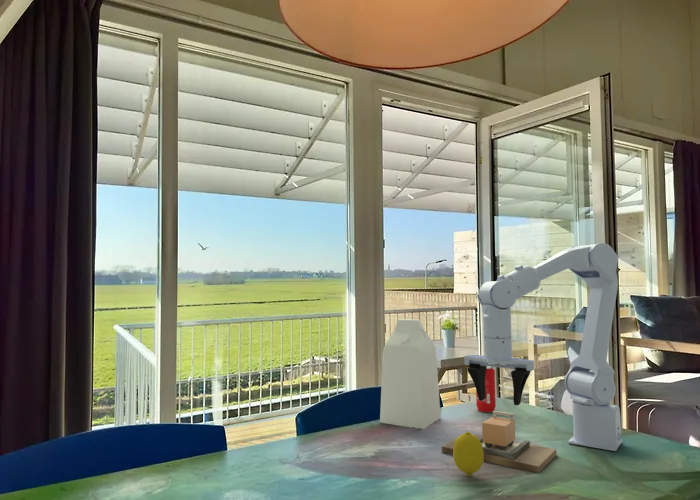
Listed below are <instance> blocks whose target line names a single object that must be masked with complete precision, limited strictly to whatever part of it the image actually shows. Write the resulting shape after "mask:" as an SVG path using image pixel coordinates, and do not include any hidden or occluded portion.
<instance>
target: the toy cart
mask: <svg viewBox="0 0 700 500" xmlns="http://www.w3.org/2000/svg"><path fill="white" fill-rule="evenodd" d="M514 415H515V414H514V413H511V412H507V411H506V412H505V411H500V410H494V411H493V412H492V416H491V417H489V418H488V419H486V420H485V421H483V422H482V423H481V424H482V427H481V429H482V433H481V434H482V435H483V442H484V443H485V446H486V447H489V448H491V447H492V445H493V444H495V445H499V449H500V450H506V448H507V445H513V443H514V442H515V440H516V419H515V416H514ZM498 416H499V417H498ZM500 416H506V417H509V418H505V417H500Z"/></svg>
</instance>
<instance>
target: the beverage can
mask: <svg viewBox="0 0 700 500" xmlns="http://www.w3.org/2000/svg"><path fill="white" fill-rule="evenodd" d="M485 391H486V396H485V399H484V400H482V401H481V400H479V399H478V394H477V391H476V390H475V397H476V398H475V399H476V400H475V403H476V405H475V406H476V408H477V410H478V412H482V413H493V411H496V410H495V409H496V408H497V407H496V406H497V403H496V371H495V367H490V366H487V368H486V376H485Z"/></svg>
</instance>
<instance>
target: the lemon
mask: <svg viewBox="0 0 700 500" xmlns="http://www.w3.org/2000/svg"><path fill="white" fill-rule="evenodd" d="M464 433H465V434H464ZM464 433H461V434H460V435H459V436H458V438H457V437H456V438H457V439H456V438H455V439H456V441H455V444H454V448H453V454H452V456H453V462H454V463H455V466H456V467H457V468H458V470H460V471H461V472H463V473H465V475H466V476H467V477H470V476H472V475H473V474H475V473H478V471H480V469H481V468H482V466H483V463H484V461H483V460H484V452H483V448H482V444H481V442H480V440H479V439H478V438H477V437H476V436H475V435H476V434H475V435H473V434H474V433H471V432H470V431H466V432H464Z"/></svg>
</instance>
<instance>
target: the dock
mask: <svg viewBox="0 0 700 500" xmlns="http://www.w3.org/2000/svg"><path fill="white" fill-rule="evenodd" d="M465 433H466V432H464V433H463V434H465ZM472 434H473V435H475V436H476V437H477V438H478V439H479V440H480V442H481V444H482V448H483V452H484V460H483V462H486V463H491V464H496V465H500V466H504V467H505V466H506V467H510V468H515V469H518V470H519V469H520V470H523V471H529V472H532V473H533V472H534V473H540V472H541V471H542V470H544V468H545V467H546V466H547V465H548V464H549V463H550V462H552V461H553V459H554V458H555V457H556V456H557V449H556V448H552V447H546V446H540V445H536V444H531V441H530V440H523V441H522V442H520V441H519V442H518V441H514V443H513V445H507V448H506V450H500V449H499V445H495V444H493V445H492V447H491V448H489V447H486V446H485V443H484V442H483V434H481V435H479V434H475V433H472ZM458 437H459V436H458ZM458 437H456V438H454V439H452V440H451V441H449V442H447V443H445V444H444V445H442V446H441V453H444V454H449V455H453V448H454V444H455V441H456V439H457V438H458Z"/></svg>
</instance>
